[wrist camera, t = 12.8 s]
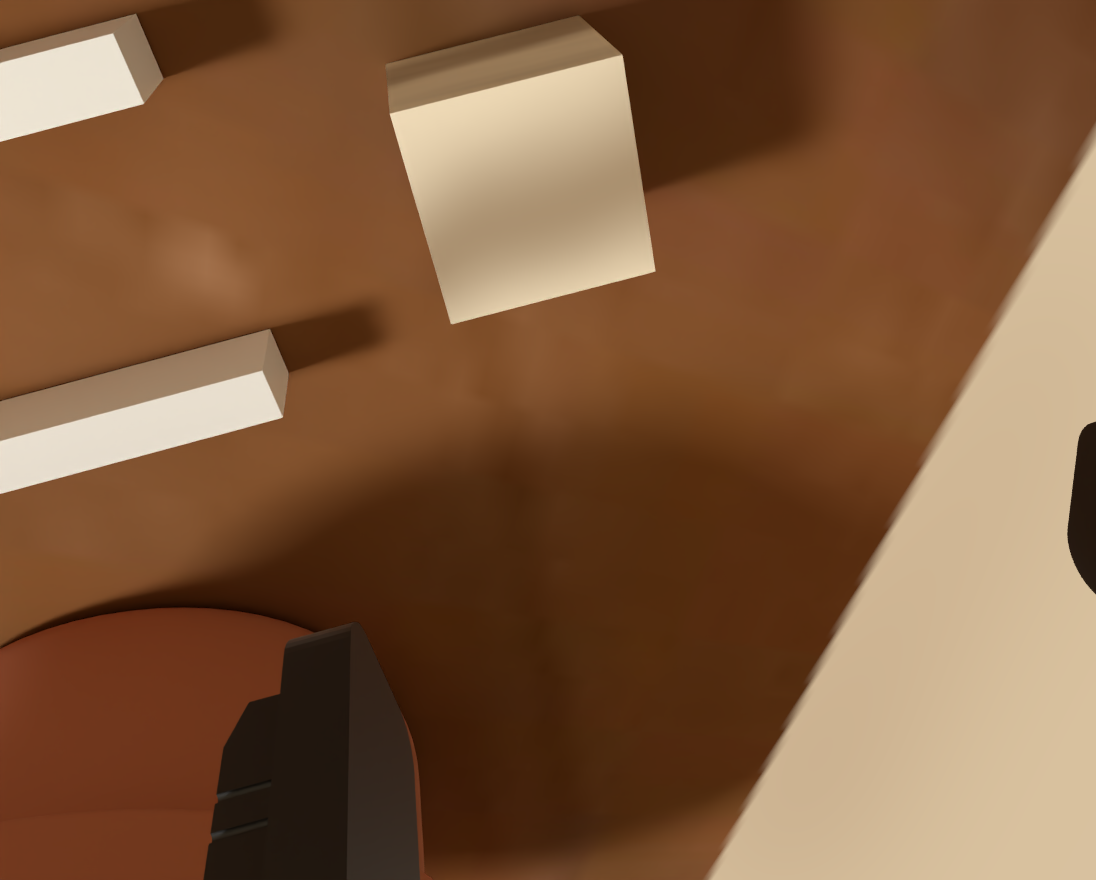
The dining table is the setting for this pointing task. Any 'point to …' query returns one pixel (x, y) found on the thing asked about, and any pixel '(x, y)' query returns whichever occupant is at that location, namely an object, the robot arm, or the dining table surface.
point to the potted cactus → (128, 739)
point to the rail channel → (144, 389)
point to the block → (522, 166)
